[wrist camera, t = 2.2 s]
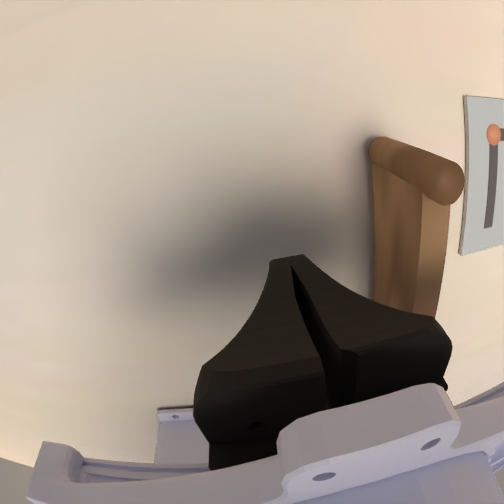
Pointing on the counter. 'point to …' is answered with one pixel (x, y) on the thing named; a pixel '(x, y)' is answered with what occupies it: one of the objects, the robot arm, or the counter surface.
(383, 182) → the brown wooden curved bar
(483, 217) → the card
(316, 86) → the counter surface
